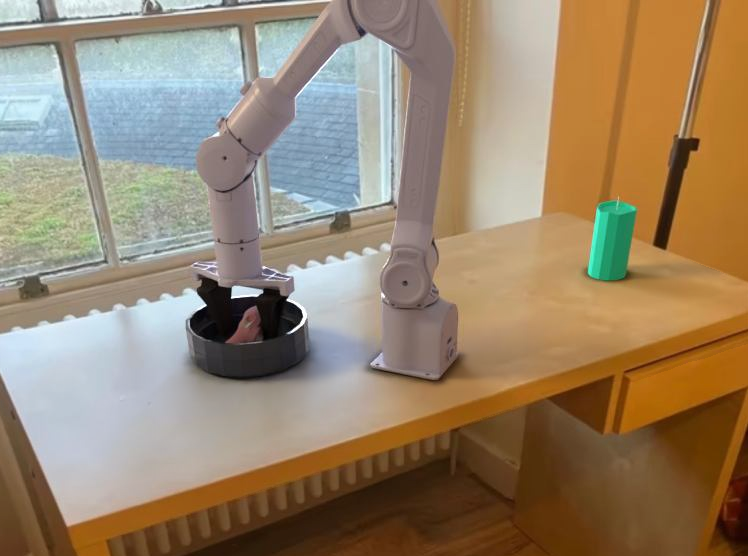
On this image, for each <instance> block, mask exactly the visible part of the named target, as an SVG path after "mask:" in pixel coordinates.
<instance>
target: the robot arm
mask: <svg viewBox="0 0 748 556" xmlns="http://www.w3.org/2000/svg"><path fill="white" fill-rule="evenodd" d="M368 34H370V35H371V36H372V37H374V38H375V39H377V40H378V41H380V42H382V43H384V44H386V45H387V46H389V47H390V48H391V49H392V51H393V52H394V53H395V54H396V56H398V58H399V59H400V60H401V62H402V63H403V64H404V65H405V66H406V68H407V69H408V70H409V83H408V93H407V101H406V102H407V104H406V113H405V121H404V122H405V124H404V134H403V143H402V144H403V145H402V153H401V162H400V163H401V164H400V173H399V183H398V193H397V202H396V203H397V205H396V213H395V222H394V228H393V233H392V237H391V242H390V251H389V256H388V258H387V260H386V263H385V264H384V266H383V267H382V269H381V271H380V274H379V287H380V290H381V294H380V295H381V298H380V299H381V353H380V354H379V355H378V356H377V357H376V358H375V359H374V360H373V361H372V362H371V363H370V368H371V369H376V370H379V371H386V372H390V373H395V374H399V375H406V376H409V377H410V376H411V377H415V378H421V379H426V380H431V381H438V380H439V379H440V378H442V376H443V374H444V373H445V372H446V371H447V370H448V369H449V368H450V366H451V365H452V364H453V363H454V361H456V359H457V358H458V357H459V352H458V332H459V329H458V328H459V309H458V306H457V304H456V303H454V302H451V301H448V300H445V299H444V298H442V297H441V296H440V291H439V289H438V288H437V286H436V284H435V282H434V276H435V273H436V270H437V268H438V265H439V262H440V261H439V260H440V253H439V248H438V246H437V244H436V237H435V235H436V217H437V208H438V200H439V193H440V192H439V191H440V183H441V179H442V168H443V161H444V154H445V145H446V138H447V130H448V123H449V114H450V108H451V99H452V90H453V84H454V78H455V77H454V76H455V69H456V62H457V47H456V43H455V41H454V38H453V36H452V34H451V31H450V29H449V26H448V23H447V21H446V19H445V15H444V14H443V12H442V9H441V7H440V4H439V2H438V0H331V1H330V2H329V3H328V4H327V5H326V6H325V7H324V8H323V10H322V11H321V13H320V14H319V15H318V17H317V18H316V20H315V21H314V22H313V24H312V25H311V26H310V27H309V29H308V30H307V32H306V33H305V35H303V37H302V38H301V40H300V41H298V42H299V43H298V44H297V45H296V46H295V48H294V49H293V50H292V52H291V54H289V56H288V57H287V59H286V60H285V61H284V63H283V64H282V65H281V67H280V68H279V69H278V71H277V72H276V73H275V75H273V76H259V77H256V78H255V80H254V81H253V82H251V80H247V82H245V83H244V84H243V85H242V86H241V88H240V89H239V91H238V92H239V93H240V95H242V96H241V98H240V99H239V100H238V102H237V103H236V104H235V105H234V106H233V108H232V109H231V111H230V112H229V113H228V114H227V115H226V117H224V116H221V117H220V118H219V119H218V120H217V121H216V122H215V127H216V128H217V132H216V133H215V134H214V135H212V136H208V137H206V138H205V139H203V140H202V141H201V143H200V147H199V148H198V150H197V152H196V156H195V166H196V170H197V173H198V175H199V178H200V179H201V181H202V182H203V183H204V184H205V186H206V192H207V201H208V203H207V204H208V208H209V209H208V210H209V216H210V225H211V231H212V239H213V245H214V252H215V260H216V262H215V261H214V262H213V261H212V262H211V261H210V262H209V261H197V262H195V263H193V264H191V265H190V266H189V269H190V270H189V271H190V276H191V281H195V282H200V281H201V283H200V285H199V286H198V287H196V294H197V296H198V297H199V298H200V299H201V300H202V302H203V303H204V305H206V306H207V307H208V309H209V310H210V312H211V314H212V316H213V318H214V320H215V322H216V324H217V327H218V329H219V331H220V334H221V336H224V337H226V336H227V335H228V334H230V333H231V332H233V315H232V305H231V298H232V297H233V295H232V293H233V288H234V287H243V288H249V289H255V290H261V291H262V293H260V294H257V295H258V296H257V297H255V298H254V303H255V305H256V307H257V309H258V312H259V315H260V319H261V323H262V330H263V338H264V340H268V339H272V338H276V337H278V330H279V324H280V319H281V315H282V312H283V309H284V306H285V304H286V301H287V299H289V297H290V295H291V294H293V293H294V292H295V291H296V290H295V289H296V288H295V278H294V276H293V275H288V274H284V273H282V272H279V271H276V270H274V269H271V268H268V267H266V266H263V256H262V247H261V246H262V245H261V237H260V236H261V235H260V228H259V227H260V226H259V218H258V210H257V209H258V207H257V200H256V195H255V193H256V192H255V184H254V175H253V173H254V172H255V171H256V168H257V166H258V163H259V160H261V159H263V157H264V156H265V155H266V154H267V153H268V151H269V150H270V149H271V148H272V147H273V145H274V144H275V143H276V142H277V141H278V140H279V138H280V137H281V136H282V135H283V134H284V132H285V131H286V130H287V129H288V128H289V127H290V125H291V124H292V123H294V121H295V119H296V118H297V97H298V96H299V95H300V94H301V93H302V92H303V90H304V89H305V88H306V87H307V86H308V85H309V83H310V82H311V81H312V80H313V79H314V78H315V77H316V76H317V74H318V73H319V72H320V71H321V70H322V69H323V68H324V67H325V65H327V63H329V61H330V60H331V59H332V57H333V56H334V55H335V54H336V53H337V52H338V51H339V49H340V48H341V47H343V45H347V44H350V43H353V42H356V41H361V40H362V39H363V38H364V37H365V36H367V35H368Z"/></svg>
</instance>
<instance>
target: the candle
mask: <svg viewBox="0 0 748 556" xmlns="http://www.w3.org/2000/svg"><path fill="white" fill-rule="evenodd" d="M637 212H638V207H636V206H634V205H632V204H630V203H627V202H624V201H621V200H620V196H618V197H617V200H616V199H614V200H608V201H603V202H600V203H598V205H597V206H596V212H595V220H594V227H593V234H592V239H591V247H590V254H589V262H588V267H587V274H588V275H589V276H590V278H594V279H595V280H596V279H597V280H601V281H619V280H622V279H625V277H626V275H627V271H628V264H629V258H630V253H631V247H632V243H633V235H634V230H635V224H636V218H637Z"/></svg>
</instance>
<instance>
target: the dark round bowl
mask: <svg viewBox="0 0 748 556" xmlns="http://www.w3.org/2000/svg"><path fill="white" fill-rule="evenodd" d="M258 295H259V294H249V295H248V294H247V295H238V296H232V298H231V305H232V315H233V332H231V333H230V334H228V335H227V336H226V337H224V336H221V334H220V331H219V329H218V327H217V324H216V322H215V320H214V318H213V316H212V314H211V312H210V310H209V309H208V307H207V306H206V304H204V305H201V306H199V307H198V308H196V309H195V310H193V311H192V312H191V313H190V314H189V315H188V317H187V318H186V319H185V333H186V339H187V345H188V351H189V356H190V359H191V361H192V362H193V364H195V366H196V367H198V368H199V369H201V370H203V371H206V372H207V373H211V374H214V375H217V376H221V377H227V378H239V379H243V378H244V379H245V378H257V377H258V378H259V377H265V376H268V375H273V374H276V373H279V372H281V371H284V370H287V369H289V368H290V367H292V366H293V365H296V364H297V363H299V362H300V361H301V360H302V359H303V358H304V357H306V356H307V354H308V351H309V350H310V347H311V346H310V336H309V335H310V333H309V321H308V320H309V319H308V318H309V317H308V314H307V310H306V309H305V308H304V306H302V305H301V304H300V303H298V302H296V301H294V300H291V299H289V298H288V299H287V301H286V304H285V306H284V309H283V312H282V315H281V319H280V324H279V330H278V337H276V338H272V339H268V340H264V339H263V341H260V342H250V343H225V342H226V341H228V340H229V339H230V338H231V337H232V336H233V335H234V334H235V333H236V331H237V329H238V325H239V323H240V321H241V320H242V319H243V316H244V313H245V312H246V311H247V310H248V309H250V308H251V307H254V306H256V305H255V303H254V298H255V297H257V296H258Z"/></svg>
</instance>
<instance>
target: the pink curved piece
mask: <svg viewBox="0 0 748 556" xmlns="http://www.w3.org/2000/svg"><path fill="white" fill-rule="evenodd" d="M263 339H264V338H263V330H262V323H261V319H260V315H259V312H258V309H257V307H256V306H254V307H251V308H250V309H248V310H247V311H246V312H245V313H244V316H243V319H242V320H241V321H240V323H239V325H238V329H237V331H236V333H235V334H234V335H233V336H232V337H231V338H230V339H229V340H228V341H226V342H225V343H250V342H260V341H263Z"/></svg>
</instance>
